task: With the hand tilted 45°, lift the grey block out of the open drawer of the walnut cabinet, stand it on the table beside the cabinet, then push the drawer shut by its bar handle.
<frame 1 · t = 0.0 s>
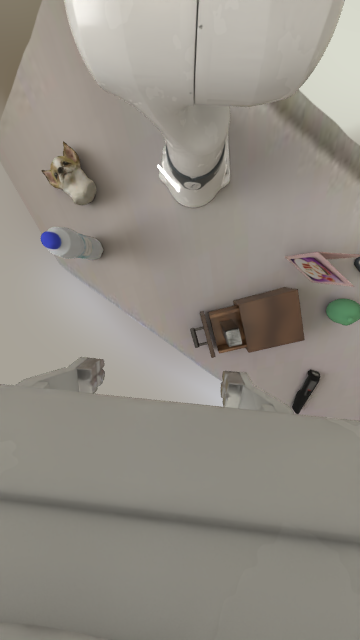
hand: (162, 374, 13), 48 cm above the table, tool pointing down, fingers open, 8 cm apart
alien toy: (332, 309, 58), on the table
greeting card: (305, 261, 55), on the table
grey block: (227, 327, 59), point 2 cm above the table, touching drawer
electric trimmer: (303, 388, 66), on the table
drawer: (222, 330, 58), point 4 cm above the table, slide at 9.5 cm, touching grey block
ceramic sculpture: (78, 183, 54), on the table
bottle: (95, 249, 58), on the table
cabinet: (262, 316, 60), on the table
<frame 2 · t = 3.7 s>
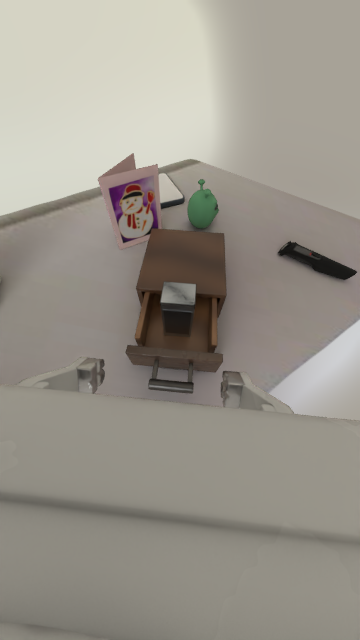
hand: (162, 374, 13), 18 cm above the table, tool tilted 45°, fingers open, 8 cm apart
alien toy: (201, 226, 51), on the table
greeting card: (137, 236, 49), on the table
phone case: (162, 193, 59), on the table
grey block: (178, 326, 33), point 2 cm above the table, touching drawer
electric trimmer: (309, 264, 45), on the table
drawer: (177, 332, 31), point 4 cm above the table, slide at 9.5 cm, touching grey block
cabinet: (183, 283, 41), on the table
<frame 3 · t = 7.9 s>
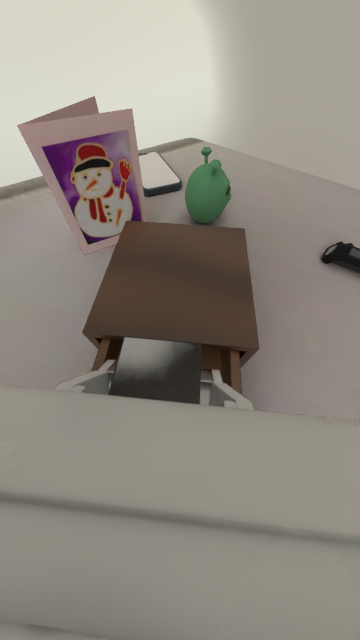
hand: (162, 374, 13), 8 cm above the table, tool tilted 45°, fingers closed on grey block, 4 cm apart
alien toy: (205, 220, 36), on the table
greeting card: (112, 234, 34), on the table
phone case: (152, 177, 44), on the table
grey block: (166, 398, 18), point 2 cm above the table, touching drawer, gripper
drawer: (162, 418, 16), point 4 cm above the table, slide at 9.5 cm, touching grey block
cabinet: (178, 309, 26), on the table
when the fingers open (6 cm above the table, at t = 16.6 s): grey block stays where it is, on the table.
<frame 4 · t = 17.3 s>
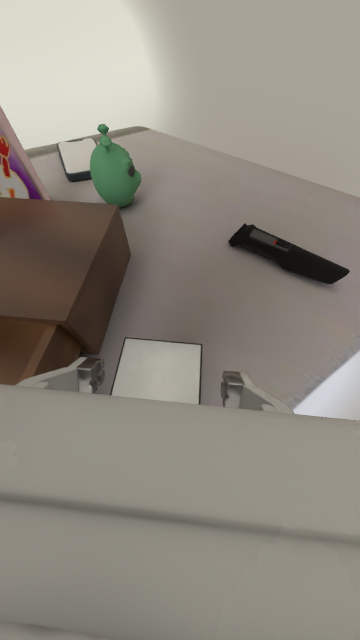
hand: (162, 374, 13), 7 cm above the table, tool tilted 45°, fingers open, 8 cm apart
alien toy: (123, 205, 35), on the table
greeting card: (22, 218, 33), on the table
phone case: (84, 163, 43), on the table
grey block: (166, 398, 18), on the table
electric trimmer: (276, 260, 28), on the table
cabinet: (61, 291, 25), on the table
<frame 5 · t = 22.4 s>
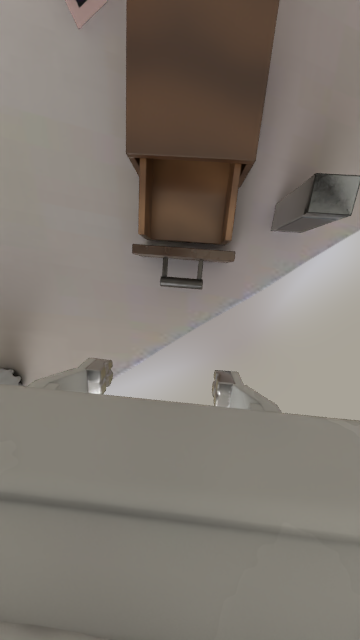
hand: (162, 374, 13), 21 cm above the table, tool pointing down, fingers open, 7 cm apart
grey block: (288, 218, 29), on the table
drawer: (186, 218, 26), point 4 cm above the table, slide at 9.5 cm
bottle: (11, 379, 39), on the table
cabinet: (195, 119, 26), on the table
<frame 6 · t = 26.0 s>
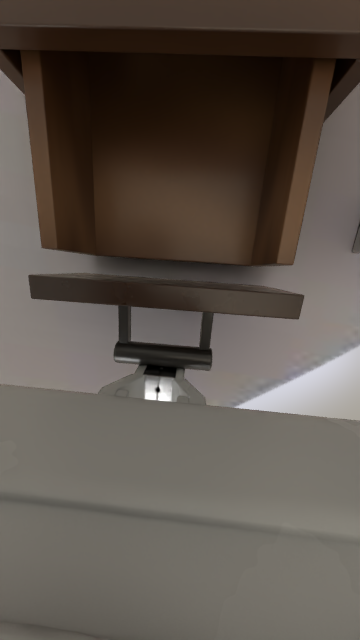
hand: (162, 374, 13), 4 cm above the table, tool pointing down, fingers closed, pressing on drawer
drawer: (172, 208, 11), point 4 cm above the table, slide at 8.3 cm, touching gripper
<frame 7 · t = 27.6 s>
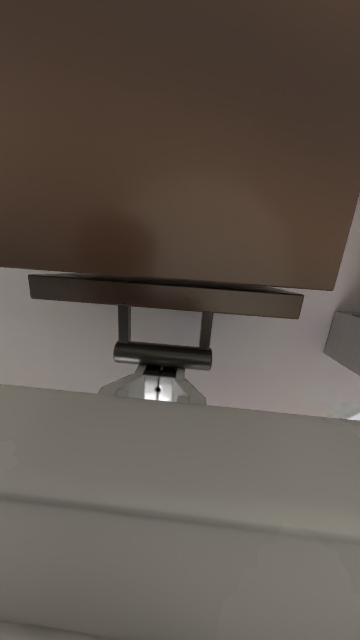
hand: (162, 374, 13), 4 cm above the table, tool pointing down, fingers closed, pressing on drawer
grey block: (357, 335, 15), on the table
drawer: (172, 208, 11), point 4 cm above the table, slide at 0.3 cm, touching gripper
cabinet: (180, 157, 13), on the table
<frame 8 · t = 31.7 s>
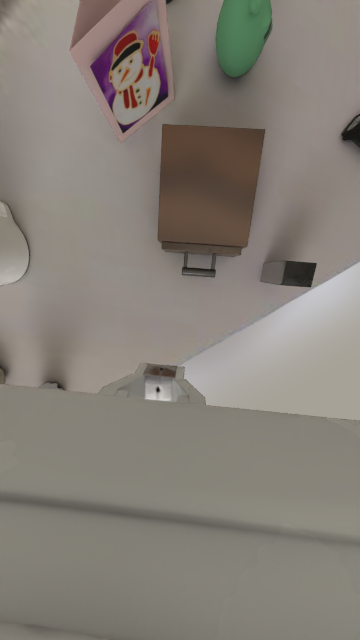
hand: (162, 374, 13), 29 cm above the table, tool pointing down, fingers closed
alien toy: (236, 64, 31), on the table
greeting card: (138, 105, 33), on the table
grey block: (273, 273, 39), on the table
drawer: (203, 221, 34), point 4 cm above the table, slide at 0.0 cm
cabinet: (204, 204, 36), on the table
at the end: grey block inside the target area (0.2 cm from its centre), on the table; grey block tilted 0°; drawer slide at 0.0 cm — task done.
